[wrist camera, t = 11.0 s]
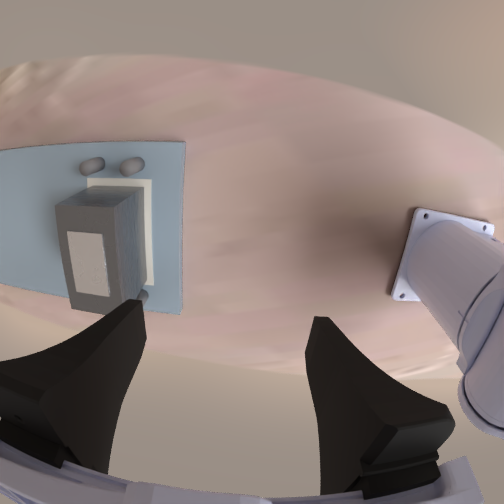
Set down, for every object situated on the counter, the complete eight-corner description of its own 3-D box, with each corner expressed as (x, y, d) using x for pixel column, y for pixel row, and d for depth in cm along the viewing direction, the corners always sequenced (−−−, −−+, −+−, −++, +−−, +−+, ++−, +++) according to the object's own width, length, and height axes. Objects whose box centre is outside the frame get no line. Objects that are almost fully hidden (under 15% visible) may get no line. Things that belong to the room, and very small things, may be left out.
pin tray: (185, 141, 19) (174, 145, 16) (182, 307, 24) (174, 330, 22) (-15, 152, 18) (-36, 158, 16) (4, 278, 24) (-12, 292, 21)
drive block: (144, 186, 19) (112, 208, 15) (147, 279, 22) (124, 319, 17) (93, 185, 19) (53, 205, 14) (100, 273, 22) (71, 309, 17)
